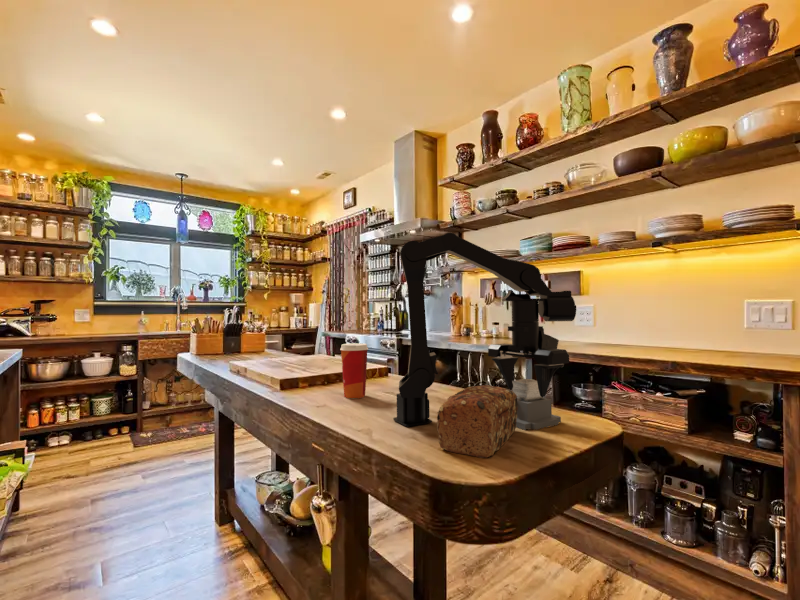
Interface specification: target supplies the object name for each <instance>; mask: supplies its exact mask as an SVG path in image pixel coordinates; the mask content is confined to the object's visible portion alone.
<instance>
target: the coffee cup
mask: <svg viewBox="0 0 800 600" xmlns="http://www.w3.org/2000/svg"><path fill="white" fill-rule="evenodd" d="M339 350H340V355H341V369H342V385H343V395H344V397H343V398H345V397H346V398H345V399H349V398H358V399H362V397H363V398H365V397H366V389H367V368H368V367H367V363H368V350H369V347H368V344H367V343H359V342H358V343H356V342H355V343H352V342H351V343H343V344H341V347H340V349H339ZM364 396H365V397H364Z"/></svg>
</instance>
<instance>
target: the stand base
mask: <svg viewBox="0 0 800 600" xmlns="http://www.w3.org/2000/svg"><path fill="white" fill-rule="evenodd" d="M517 408H518V410H517V419H516V428H517V427H518V428H517V429H520V428H521V429H520V430H523V429H524V431H527V430H526V429H528V430H533V429H534V431H536V430H540V428H541V429H545V428H544V427H546V428H550V427H554V425H555V426H559V425H558V424H560V423H562V417H561V416H559V415H556V414H552V413H553V412H552V411H553V410H552V399H551V398H547V397H541V399H540V400H538V401H532V402H524V401H521V398H519V397H517ZM559 422H560V423H559ZM549 426H550V427H549ZM535 429H536V430H535Z"/></svg>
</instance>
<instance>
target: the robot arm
mask: <svg viewBox="0 0 800 600" xmlns="http://www.w3.org/2000/svg"><path fill="white" fill-rule="evenodd" d="M446 254H450V255H453V256H454V257H457V258H459V259H460V260H463V261H465V262H467V263H469V264H471V265H473V266H476V267H479V268H480V269H482V270H484V271H486V272H489V273H490V274H493V275H494V276H495V277H497V278H498V279H499V280H500V281H501V282H502V283H504V284H505V285H506V286H508V287H509V288H511V289H512V290H508V292H507V293H506V295H505V296H504V297H502V299H501V301H502V302H511V326H510V325H509V326H507V331H508V332H511V343H491V344H490V345H489V346H488V348H487V352H488V353H487V354H488V355H487V356H488V357H492V358H491V360H492V361H493V362H494V363H495V364H496V367H497V369H498V370H499V372H500V373H501V376H502V378H503V379H504V381H505V383H506V386H507V389H510V390H512V388H513V384H512V381H513V380H515V366H516V363H517V362H518V360H519V357H520V358H527V359H534V360H535V361H536V363H537V364H533V365H534V371H535V378H536V380H537V384H538V389H539V393H540V396H541V397H543V398H545V397H546V395H547V392H548V389H549V387H550V384H551V382H552V381H551V380H552V379H553V376H554V375H555V372H556V371H557V370H558V369H559V368H563V367H564V366H565V364H570V354H569V352H568V350H567V349H563V348H558V345H559V341H560V340H559V339H558V338H555V337H553V336H552V335H549V334H546V333H545V328H544V326H542V325H541V326H540V325H539V324H540V319H539V318H543V320H544V322H574V320H575V318H576V315H577V305H576V301H575V300H574V297H573V296H572V291H571V290H560V291H552V290H551V289H550V287H548V285H547V284H546V283H545V281H544V280H543V279H542V274H541V272H540V270H541V269H539V268H538V267H537V266H536V265H534V264H531V263H527V262H524V261H520V260H516V259H515V260H514V259H508V258H505V257H502V256H501V255H498V254H496V253H495V252H491V251H490V250H488V249H486V248H483V247H481V246H479V245H477V244H476V243H473V242H470V241H468V240H466V239H464V238H462V237H460V236H458V235H457V234H456V233H454V232H447V233H444V234H442V235H440V236H436V237H432V238H428V239H425V240H423V241H417V240H411V241H407V242H406V243H404V245H403V246H401V250H400V261H401V266H402V270H403V274H404V278H405V282H406V286H407V301H408V303H407V304H408V316H409V317H408V318H409V331H410V332H409V335H410V351H409V358H408V359H409V360H408V367H407V368H408V369H407V373H406V374H405V375H404V376H403V377H402V378H401V379H399V382H398V383H399V384H398V391H399V393H396V417H395V416H394V417H393V418H392V419H393V421H395V422H396V423H399V424H400V425H403V426H404V427H406V428H408V427H416V426H419V425H420V426H421V425H427V424H430V423H433V420H432V419H430V416H431V415H430V399H429V398H428V396H429V395H428V392H427V389H428V388H430V387H431V386H432V385H433V384H434V382H435V377H436V375H439V373H438V371H437V365H436V364H437V354H436V353H435V352H434V351H433V352H430V349H429V347H428V339H427V338H428V336H427V333H428V331H427V320H426V319H427V316H426V303H425V289H424V285H425V284H424V282H425V281H424V280H425V275H426V274H425V273H426V266H427V261H428V262H429V261H431V260H434V259H436V258H438V257H440V256H443V255H446ZM514 291H516V292H522V293H516V292H514ZM523 292H524V293H523ZM536 296H537V297H538V296H539V298H531V297H536Z"/></svg>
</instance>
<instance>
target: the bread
mask: <svg viewBox="0 0 800 600" xmlns="http://www.w3.org/2000/svg"><path fill="white" fill-rule="evenodd" d="M517 410H518V408H517V396H516V394H515V393H514V392H513V391H512V389H509V388H504V387H500V386H493V385H482V384H481V385H477V386H476V385H474V386H468V387H466V388H464V389H462V390H461V391H458V392H456V393H455V394H453V395H450V396H448V398H447V399H446V400H445V401H444V403H443V404H442V405H440V407H439V410H438V411H437V417H436V418H437V419H436V430H437V433H438V444H439V448H441V449H443V450H444V451H447V452H451V453H455V454H462V455H466V456H472V457H477V458H480V459H485V458H486V459H487V458H489V457H493V456H494V454H495V452H496V451H499V450H500V449H501V448H502V447H503V446H504V444H506V443H507V442H508V441H509V439H510V437H511V436H512V435H513V433H514V432H515V430H516V428H517V427H516V419H517Z"/></svg>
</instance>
